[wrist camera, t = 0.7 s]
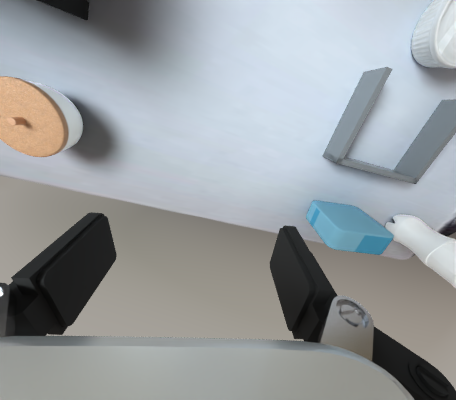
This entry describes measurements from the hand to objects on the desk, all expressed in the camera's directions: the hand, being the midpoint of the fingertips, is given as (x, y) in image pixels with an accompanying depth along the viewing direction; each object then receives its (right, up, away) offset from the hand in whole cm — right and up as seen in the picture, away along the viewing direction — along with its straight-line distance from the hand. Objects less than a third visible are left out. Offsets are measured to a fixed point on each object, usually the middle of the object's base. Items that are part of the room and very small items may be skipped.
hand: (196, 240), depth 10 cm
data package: (+27, 0, +35) cm, 44 cm away
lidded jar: (-28, +17, +23) cm, 41 cm away
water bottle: (+45, -3, +37) cm, 58 cm away
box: (+32, +16, +26) cm, 44 cm away
